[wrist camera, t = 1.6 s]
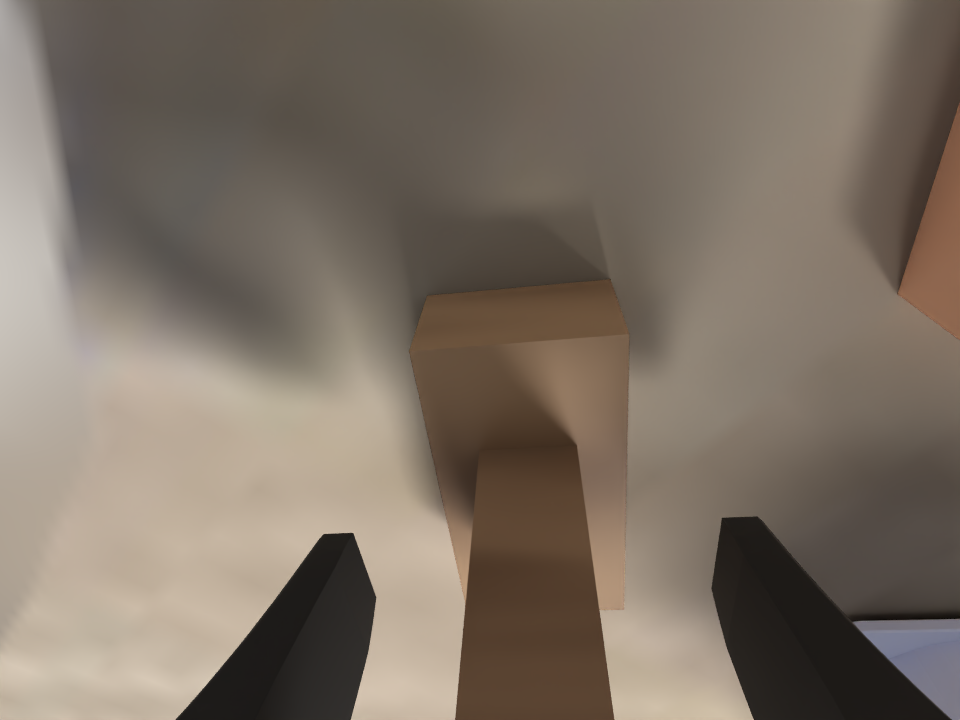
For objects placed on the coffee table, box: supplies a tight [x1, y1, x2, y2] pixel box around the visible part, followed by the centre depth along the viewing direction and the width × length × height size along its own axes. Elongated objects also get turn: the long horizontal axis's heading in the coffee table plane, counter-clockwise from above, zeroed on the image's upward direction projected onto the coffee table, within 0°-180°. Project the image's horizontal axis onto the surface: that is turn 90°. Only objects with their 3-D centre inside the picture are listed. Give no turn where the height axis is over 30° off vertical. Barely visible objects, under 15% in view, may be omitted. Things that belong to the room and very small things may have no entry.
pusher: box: [409, 279, 629, 720], centre depth 11 cm, size 8×4×8 cm, turn 7°
